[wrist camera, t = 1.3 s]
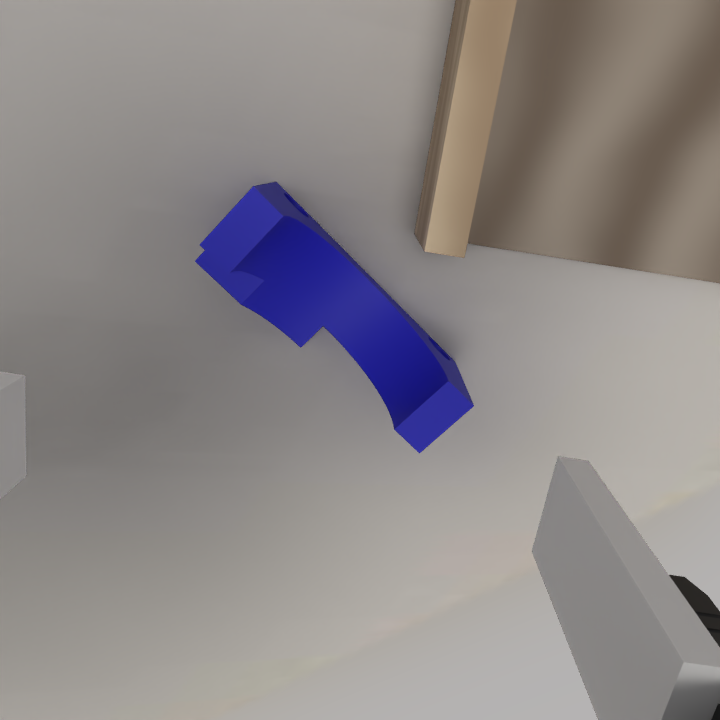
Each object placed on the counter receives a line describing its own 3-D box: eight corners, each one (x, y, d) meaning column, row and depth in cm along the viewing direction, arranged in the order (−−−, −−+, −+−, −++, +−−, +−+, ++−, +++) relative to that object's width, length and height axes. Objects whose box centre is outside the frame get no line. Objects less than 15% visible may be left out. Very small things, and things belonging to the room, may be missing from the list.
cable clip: (212, 251, 29) (173, 273, 24) (276, 181, 28) (253, 186, 23) (389, 420, 32) (393, 476, 26) (454, 361, 31) (473, 406, 25)
